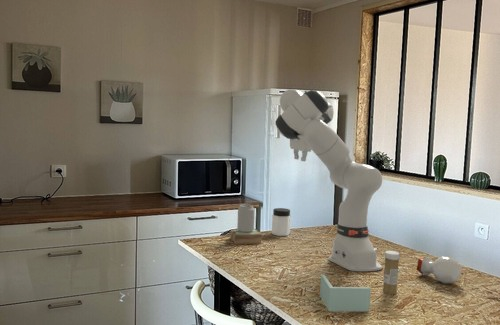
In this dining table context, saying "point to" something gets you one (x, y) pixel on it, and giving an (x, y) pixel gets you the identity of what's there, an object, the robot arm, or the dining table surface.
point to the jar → (281, 222)
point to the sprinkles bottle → (391, 272)
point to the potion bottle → (440, 269)
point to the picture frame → (245, 237)
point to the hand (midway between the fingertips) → (299, 160)
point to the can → (245, 218)
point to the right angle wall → (344, 297)
